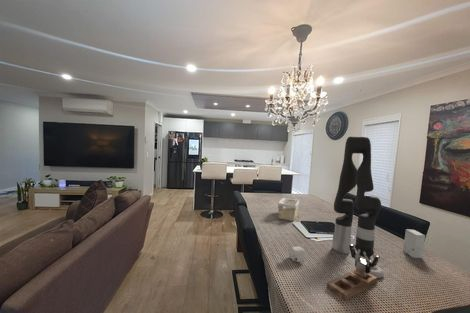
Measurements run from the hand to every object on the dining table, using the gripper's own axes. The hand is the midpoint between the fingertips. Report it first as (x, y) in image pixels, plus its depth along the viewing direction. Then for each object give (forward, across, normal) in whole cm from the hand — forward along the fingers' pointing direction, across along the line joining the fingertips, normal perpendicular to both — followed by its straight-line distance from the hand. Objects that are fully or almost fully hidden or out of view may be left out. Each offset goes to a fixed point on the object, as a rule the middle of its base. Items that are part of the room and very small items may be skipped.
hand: (362, 270), depth 101 cm
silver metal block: (+4, 0, 0) cm, 4 cm away
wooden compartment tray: (+6, 0, -8) cm, 10 cm away
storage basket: (+6, -84, +35) cm, 91 cm away
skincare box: (+6, +1, +57) cm, 57 cm away
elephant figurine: (+6, -28, -15) cm, 32 cm away
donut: (+6, -1, +12) cm, 13 cm away
